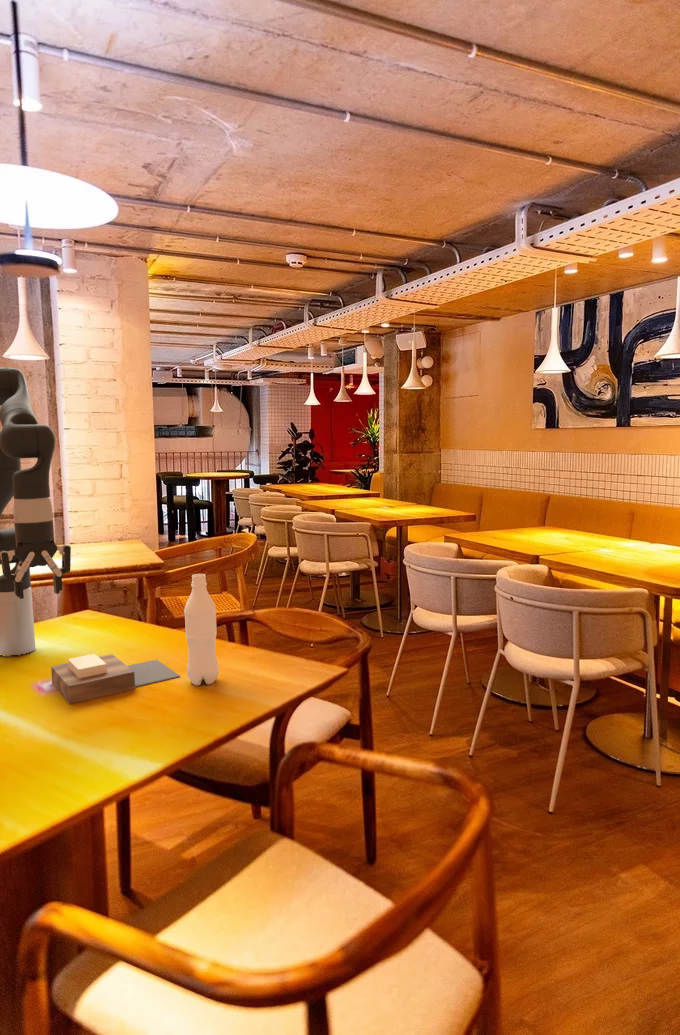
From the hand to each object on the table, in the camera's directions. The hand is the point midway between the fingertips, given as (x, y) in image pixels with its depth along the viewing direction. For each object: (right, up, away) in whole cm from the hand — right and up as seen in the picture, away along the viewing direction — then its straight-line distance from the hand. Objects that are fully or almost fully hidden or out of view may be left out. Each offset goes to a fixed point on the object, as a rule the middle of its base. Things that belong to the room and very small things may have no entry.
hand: (39, 595), depth 143 cm
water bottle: (+33, -21, +10) cm, 41 cm away
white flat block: (+8, -18, +7) cm, 21 cm away
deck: (+9, -22, +8) cm, 25 cm away
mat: (+18, -21, +16) cm, 32 cm away
